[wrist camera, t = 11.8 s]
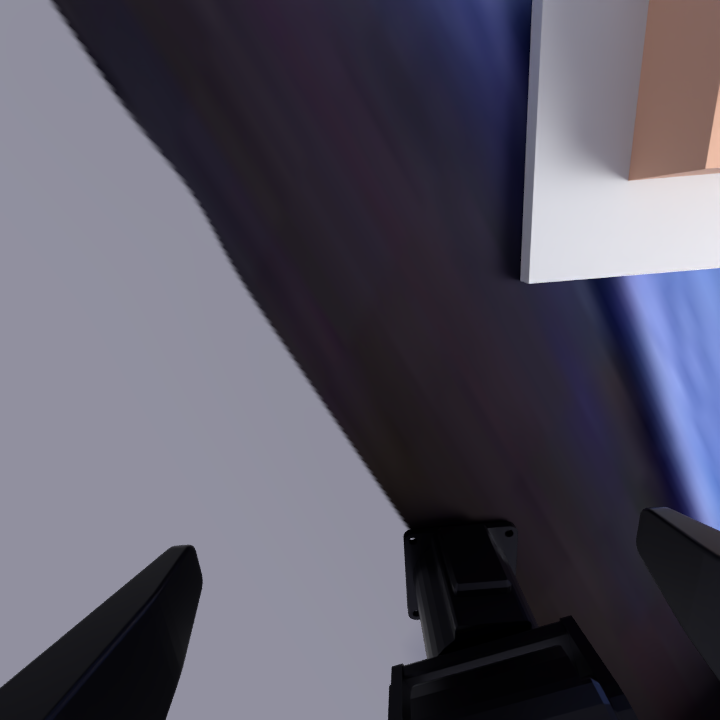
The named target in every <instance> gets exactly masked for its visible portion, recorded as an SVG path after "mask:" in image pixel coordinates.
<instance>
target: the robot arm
mask: <svg viewBox="0 0 720 720" xmlns="http://www.w3.org/2000/svg"><path fill="white" fill-rule="evenodd" d="M507 530H510V531H509V532H506V531H507ZM410 538H415V539H413V540H410ZM517 541H518V531H517V529H516V527H515V525H514V524H513V523H512V522H496V523H483V524H471V525H458V526H445V527H433V528H420V529H410V530H408V531H406V532H405V534H404V554H405V572H406V588H407V606H408V614H409V617H410V618H411V619H414V620H419V619H420V621H421V627H422V632H423V638H424V643H425V649H426V655H427V659H425V660H422V661H418V662H415V663H412V664H408V665H405V666H404V665H403V664H399V665H396V666H392V673H391V685H390V686H389V708H388V720H638V718H637V716H636V714H635V712H634V711H633V709H632V707H631V705H630V704H629V702H628V700H627V698H626V697H625V695H624V693H623V692H622V690H621V689H620V687H619V685H618V684H617V682H616V681H615V679H614V678H613V676H612V675H611V673H610V672H609V670H608V669H607V668H606V666H605V665H604V663H603V662H602V660H601V659H600V657H599V656H598V654H597V653H596V651H595V650H594V648H593V647H592V645H591V644H590V642H589V641H588V639H587V638H586V636H585V635H584V634H583V632H582V631H581V629H580V628H579V626H578V625H577V623H576V622H575V620H574V619H573V617H572V616H567V617H564V618H560V621H558V622H555V623H551V624H548V625H544V626H541V627H539V626H538V624H537V622H536V620H535V618H534V616H533V613H532V611H531V609H530V607H529V605H528V603H527V601H526V598H525V596H524V594H523V592H522V590H521V588H520V586H519V583H518V581H517V579H516V561H517ZM636 545H637V549H638V552H639V554H640V556H641V558H642V560H643V561H644V563H645V565H646V566H647V568H648V570H649V572H650V573H651V575H652V577H653V578H654V580H655V582H656V584H657V585H658V587H659V589H660V590H661V592H662V594H663V596H664V597H665V599H666V601H667V602H668V604H669V606H670V608H671V609H672V611H673V613H674V614H675V616H676V618H677V619H678V621H679V623H680V624H681V626H682V628H683V629H684V631H685V632H686V634H687V635H688V637H689V638H690V640H691V641H692V643H693V644H694V646H695V647H696V649H697V650H698V651H699V653H700V654H701V656H702V657H703V659H704V660H705V661H706V663H707V664H708V666H709V667H710V669H711V670H712V671H713V673H714V674H715V676H716V677H717V678H718V680H719V681H720V531H718V530H716V529H714V528H712V527H710V526H707V525H705V524H703V523H701V522H698V521H696V520H694V519H692V518H690V517H687V516H685V515H683V514H681V513H679V512H676V511H674V510H672V509H670V508H667V507H652V508H645V509H643V510H642V512H641V514H640V520H639V526H638V532H637V538H636ZM202 581H203V580H202V573H201V569H200V565H199V561H198V558H197V554H196V550H195V548H194V547H193V546H192V545H179V546H173V547H171V548H169V549H168V550H167V551H165V552H164V553H163V554H162V555H160V556H159V557H158V558H157V559H156V560H154V561H153V562H152V563H151V564H150V565H148V566H147V567H146V568H145V569H144V570H142V571H141V572H140V573H139V574H138V575H136V576H135V577H134V578H133V579H131V580H130V581H129V582H128V583H127V584H125V585H124V586H123V587H122V588H121V589H119V590H118V591H117V592H116V593H115V594H113V595H112V596H111V597H110V598H108V599H107V600H106V601H105V602H104V603H102V604H101V605H100V606H99V607H98V608H96V609H95V610H94V611H93V612H91V613H90V614H89V615H88V616H87V617H86V618H84V619H83V620H82V621H81V622H79V623H78V624H77V625H76V626H75V627H73V628H72V629H71V630H70V631H68V632H67V633H66V634H65V635H64V636H62V637H61V638H60V639H59V640H58V641H56V642H55V643H54V644H53V645H52V646H50V647H49V648H48V649H47V650H46V651H44V652H43V653H42V654H41V655H39V656H38V657H37V658H36V659H35V660H33V661H32V662H31V663H30V664H29V665H27V666H26V667H25V668H24V669H22V670H21V671H20V672H19V673H18V674H16V675H15V676H14V677H13V678H12V679H10V680H9V681H8V682H7V683H6V684H4V685H3V686H2V687H1V688H0V720H166V717H167V714H168V711H169V708H170V705H171V702H172V699H173V696H174V693H175V690H176V688H177V685H178V681H179V678H180V675H181V672H182V668H183V664H184V661H185V657H186V653H187V648H188V644H189V640H190V636H191V632H192V628H193V624H194V619H195V615H196V611H197V607H198V603H199V598H200V595H201V590H202V583H203V582H202ZM416 610H417V611H416Z"/></svg>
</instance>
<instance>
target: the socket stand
mask: <svg viewBox="0 0 720 720" xmlns="http://www.w3.org/2000/svg"><path fill="white" fill-rule="evenodd" d="M713 268H720V0H532V19H531V43H530V66H529V89H528V112H527V136H526V159H525V182H524V205H523V229H522V252H521V275H520V281H522V282H525V283H528V284H531V283H543V282H555V281H567V280H579V279H591V278H604V277H616V276H628V275H640V274H652V273H664V272H676V271H689V270H701V269H713Z"/></svg>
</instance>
